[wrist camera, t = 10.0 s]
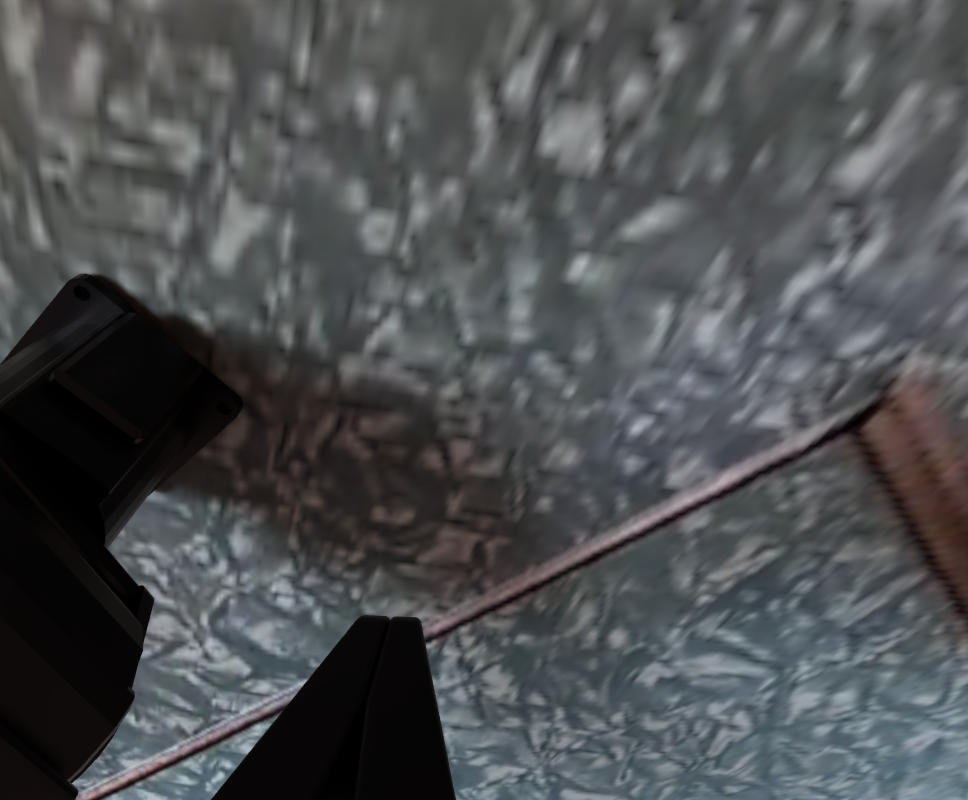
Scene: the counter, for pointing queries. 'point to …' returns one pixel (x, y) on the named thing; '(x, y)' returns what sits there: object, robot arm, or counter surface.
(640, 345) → the counter surface
